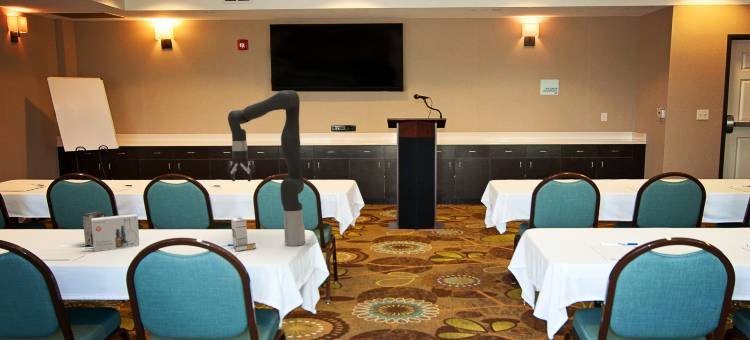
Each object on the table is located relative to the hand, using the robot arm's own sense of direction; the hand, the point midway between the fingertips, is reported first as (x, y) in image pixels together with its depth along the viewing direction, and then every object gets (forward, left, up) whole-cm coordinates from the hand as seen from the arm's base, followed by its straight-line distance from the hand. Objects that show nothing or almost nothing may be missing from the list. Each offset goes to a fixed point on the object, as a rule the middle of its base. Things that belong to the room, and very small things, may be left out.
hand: (241, 181), depth 307 cm
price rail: (-10, +22, -30) cm, 38 cm away
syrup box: (-6, +18, -30) cm, 35 cm away
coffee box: (+73, +19, -30) cm, 81 cm away
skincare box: (+57, +25, -30) cm, 69 cm away
